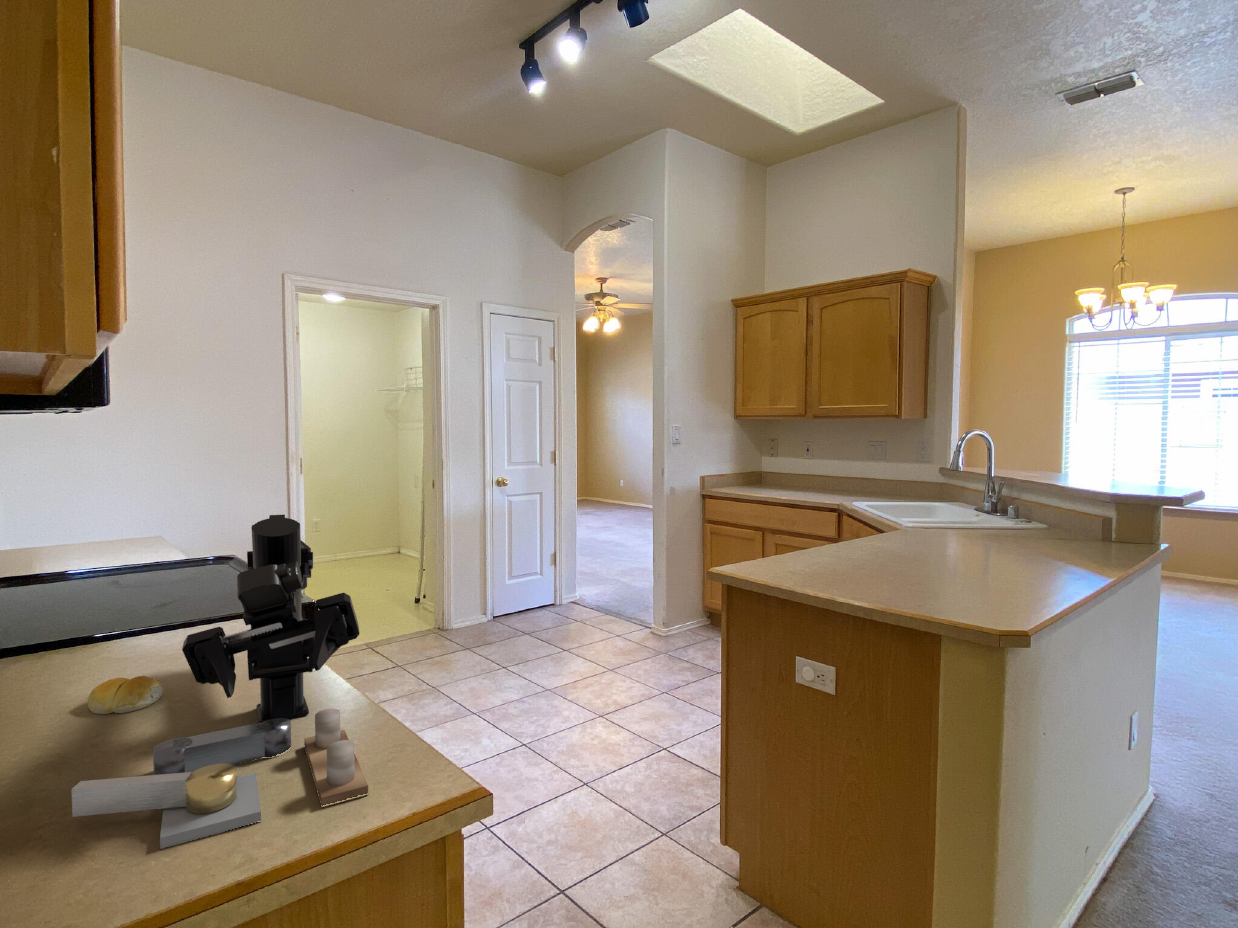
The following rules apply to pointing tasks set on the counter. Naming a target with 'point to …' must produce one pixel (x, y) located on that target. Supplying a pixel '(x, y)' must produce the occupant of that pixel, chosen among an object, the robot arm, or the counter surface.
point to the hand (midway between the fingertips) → (273, 680)
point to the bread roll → (124, 695)
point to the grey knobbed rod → (223, 747)
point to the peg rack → (333, 760)
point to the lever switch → (158, 792)
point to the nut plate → (212, 816)
